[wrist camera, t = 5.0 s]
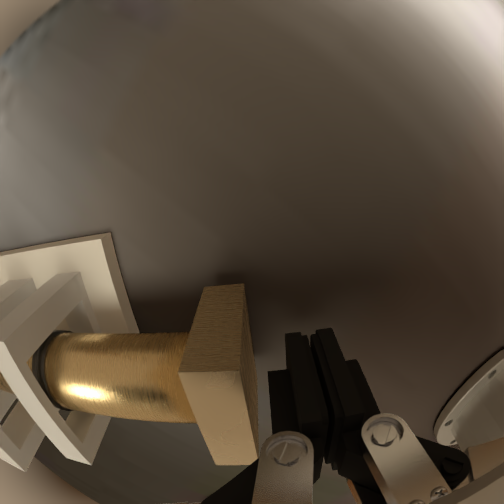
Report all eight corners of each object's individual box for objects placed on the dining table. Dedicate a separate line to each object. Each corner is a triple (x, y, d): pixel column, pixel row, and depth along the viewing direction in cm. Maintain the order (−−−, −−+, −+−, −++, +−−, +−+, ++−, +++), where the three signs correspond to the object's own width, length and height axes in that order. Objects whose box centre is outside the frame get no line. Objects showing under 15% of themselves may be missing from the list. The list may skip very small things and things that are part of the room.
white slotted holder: (110, 232, 12) (-29, 343, 4) (162, 390, 16) (126, 518, 7) (-28, 258, 13) (-111, 316, 4) (23, 373, 16) (-28, 447, 8)
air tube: (243, 283, 12) (239, 370, 7) (257, 377, 13) (259, 464, 9) (-7, 298, 12) (-56, 340, 7) (25, 366, 14) (-10, 413, 9)
